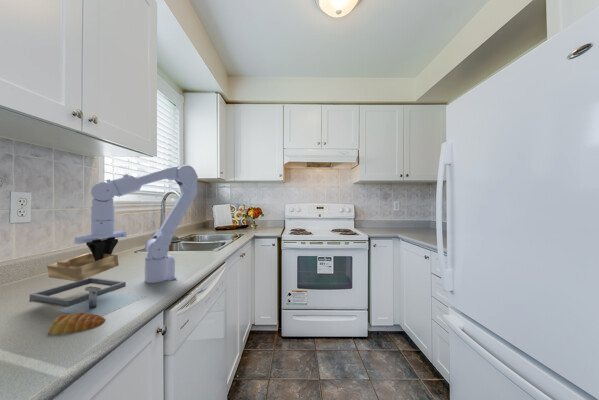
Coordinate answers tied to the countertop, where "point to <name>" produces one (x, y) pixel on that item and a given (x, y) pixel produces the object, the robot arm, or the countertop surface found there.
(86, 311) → the stake base
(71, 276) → the wooden frame
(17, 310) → the countertop surface
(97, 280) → the tray
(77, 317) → the pastry
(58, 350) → the countertop surface
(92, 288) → the stake post
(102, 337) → the countertop surface
